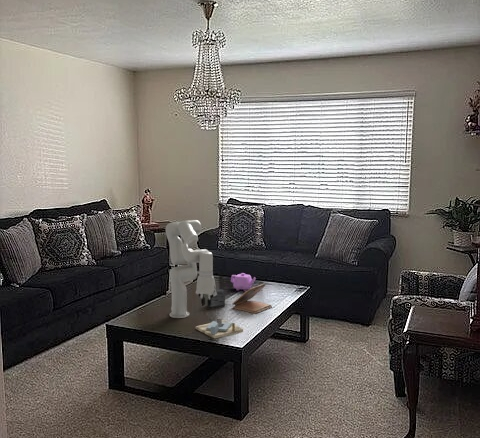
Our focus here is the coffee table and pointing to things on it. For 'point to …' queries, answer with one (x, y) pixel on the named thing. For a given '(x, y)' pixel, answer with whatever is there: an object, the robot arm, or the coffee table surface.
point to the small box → (218, 299)
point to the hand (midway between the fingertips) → (206, 305)
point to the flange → (214, 327)
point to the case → (251, 305)
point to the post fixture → (231, 330)
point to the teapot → (242, 281)
